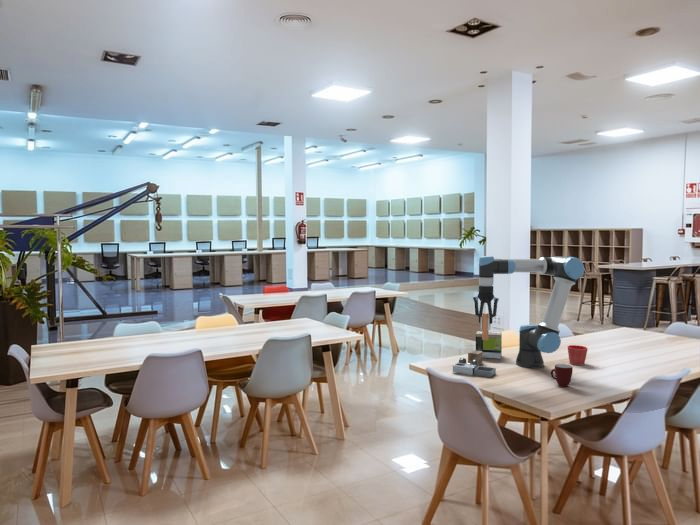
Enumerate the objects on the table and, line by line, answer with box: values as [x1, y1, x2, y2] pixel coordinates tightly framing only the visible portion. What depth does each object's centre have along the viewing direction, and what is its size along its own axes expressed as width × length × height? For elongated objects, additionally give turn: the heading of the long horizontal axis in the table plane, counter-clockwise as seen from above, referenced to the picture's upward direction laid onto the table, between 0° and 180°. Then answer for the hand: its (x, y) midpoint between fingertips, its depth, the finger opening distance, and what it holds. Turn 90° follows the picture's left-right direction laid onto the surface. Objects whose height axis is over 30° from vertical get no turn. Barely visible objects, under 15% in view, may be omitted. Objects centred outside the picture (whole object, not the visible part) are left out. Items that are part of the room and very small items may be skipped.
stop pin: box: [481, 312, 490, 340], centre depth 275 cm, size 3×3×14 cm
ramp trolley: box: [452, 357, 480, 376], centre depth 283 cm, size 11×13×6 cm
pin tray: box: [473, 365, 497, 378], centre depth 276 cm, size 9×9×3 cm
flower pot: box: [567, 344, 588, 366], centre depth 300 cm, size 11×11×10 cm
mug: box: [550, 363, 573, 388], centre depth 256 cm, size 11×8×10 cm
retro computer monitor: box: [475, 330, 503, 359], centre depth 317 cm, size 15×10×15 cm
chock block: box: [467, 349, 483, 366], centre depth 299 cm, size 6×8×7 cm
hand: (485, 329), depth 275 cm, fingers closed on stop pin, 3 cm apart
